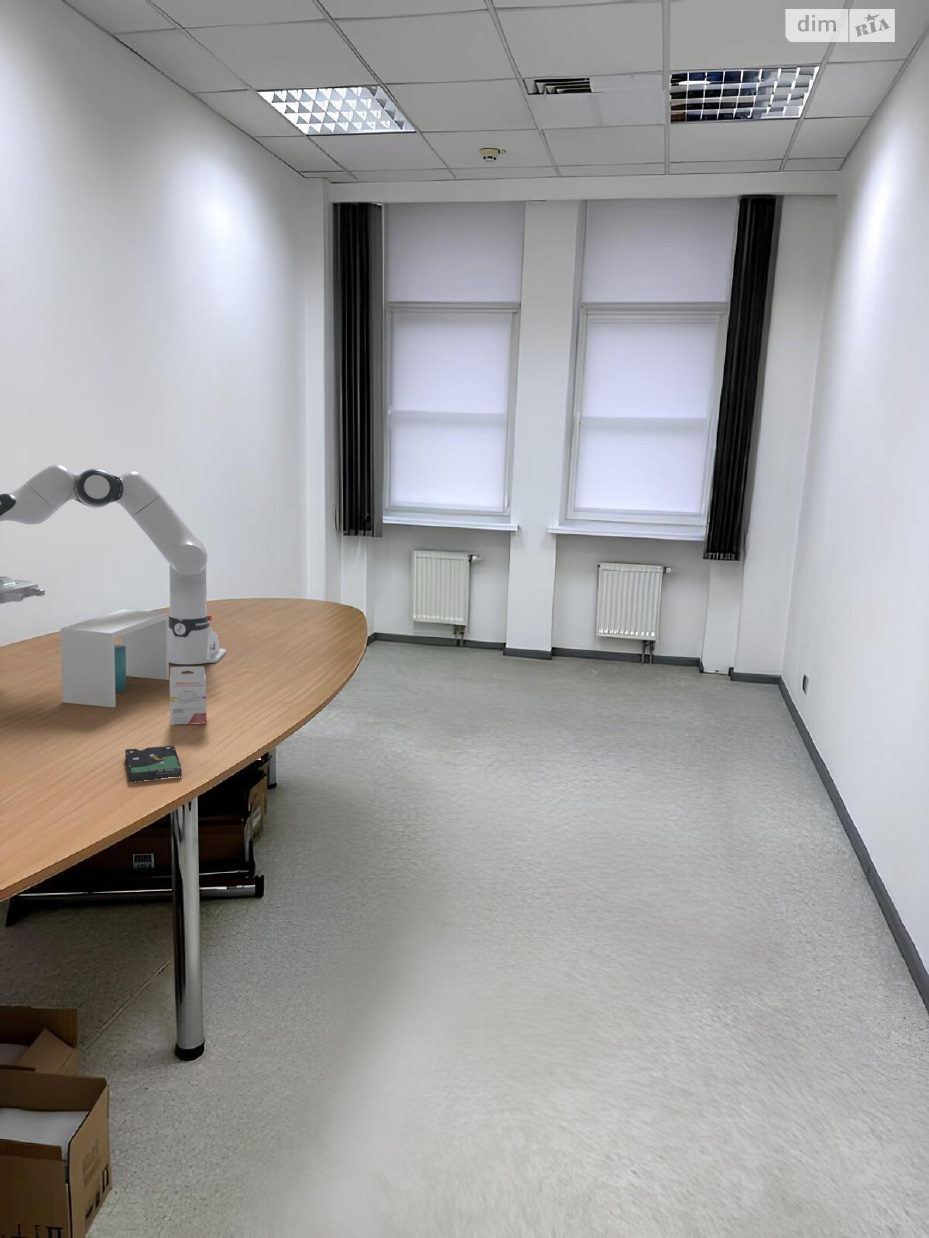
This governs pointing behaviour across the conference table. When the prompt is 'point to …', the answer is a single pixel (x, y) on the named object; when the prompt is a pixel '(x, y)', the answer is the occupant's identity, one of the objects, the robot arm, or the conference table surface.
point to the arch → (112, 654)
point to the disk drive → (152, 763)
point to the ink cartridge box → (187, 695)
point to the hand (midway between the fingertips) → (32, 595)
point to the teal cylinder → (120, 668)
